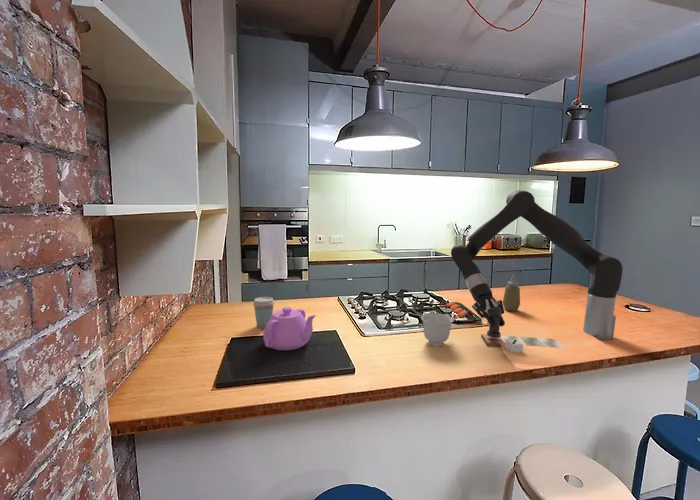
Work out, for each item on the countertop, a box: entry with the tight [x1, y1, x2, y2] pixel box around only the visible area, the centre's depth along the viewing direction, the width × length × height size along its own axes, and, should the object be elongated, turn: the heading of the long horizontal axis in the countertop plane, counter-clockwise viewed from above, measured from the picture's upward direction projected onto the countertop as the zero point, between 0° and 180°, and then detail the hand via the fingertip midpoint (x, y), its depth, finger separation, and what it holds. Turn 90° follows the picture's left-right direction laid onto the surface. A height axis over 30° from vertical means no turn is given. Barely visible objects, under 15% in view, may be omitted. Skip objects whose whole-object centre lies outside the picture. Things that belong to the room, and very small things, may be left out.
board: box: [480, 333, 567, 349], centre depth 130 cm, size 28×9×1 cm, turn 83°
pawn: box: [486, 306, 502, 338], centre depth 131 cm, size 5×5×12 cm
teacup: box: [420, 312, 455, 347], centre depth 130 cm, size 12×15×10 cm
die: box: [505, 340, 524, 353], centre depth 122 cm, size 4×4×4 cm
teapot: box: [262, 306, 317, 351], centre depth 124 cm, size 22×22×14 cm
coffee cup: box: [252, 296, 275, 330], centre depth 142 cm, size 8×9×12 cm
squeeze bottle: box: [502, 274, 521, 312], centre depth 171 cm, size 8×8×18 cm
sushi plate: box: [425, 301, 483, 323], centre depth 165 cm, size 29×30×4 cm
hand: (498, 325), depth 129 cm, fingers closed on pawn, 3 cm apart
